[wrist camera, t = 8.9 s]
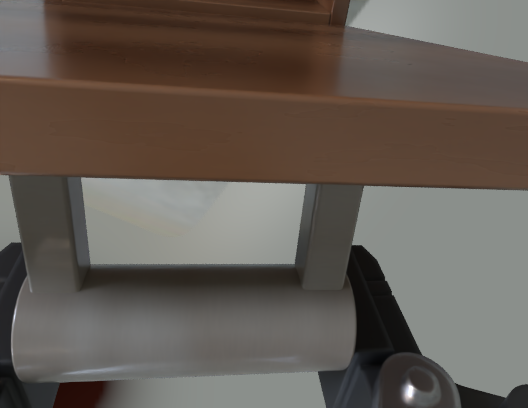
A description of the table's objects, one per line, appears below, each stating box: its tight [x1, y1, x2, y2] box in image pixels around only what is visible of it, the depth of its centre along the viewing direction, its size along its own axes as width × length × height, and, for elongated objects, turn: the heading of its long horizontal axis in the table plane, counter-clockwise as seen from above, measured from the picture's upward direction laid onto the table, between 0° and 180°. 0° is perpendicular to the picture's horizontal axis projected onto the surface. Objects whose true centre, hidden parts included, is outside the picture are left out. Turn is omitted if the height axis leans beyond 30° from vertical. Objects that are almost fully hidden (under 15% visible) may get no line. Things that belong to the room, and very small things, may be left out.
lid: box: [0, 0, 528, 384], centre depth 12 cm, size 17×14×5 cm
